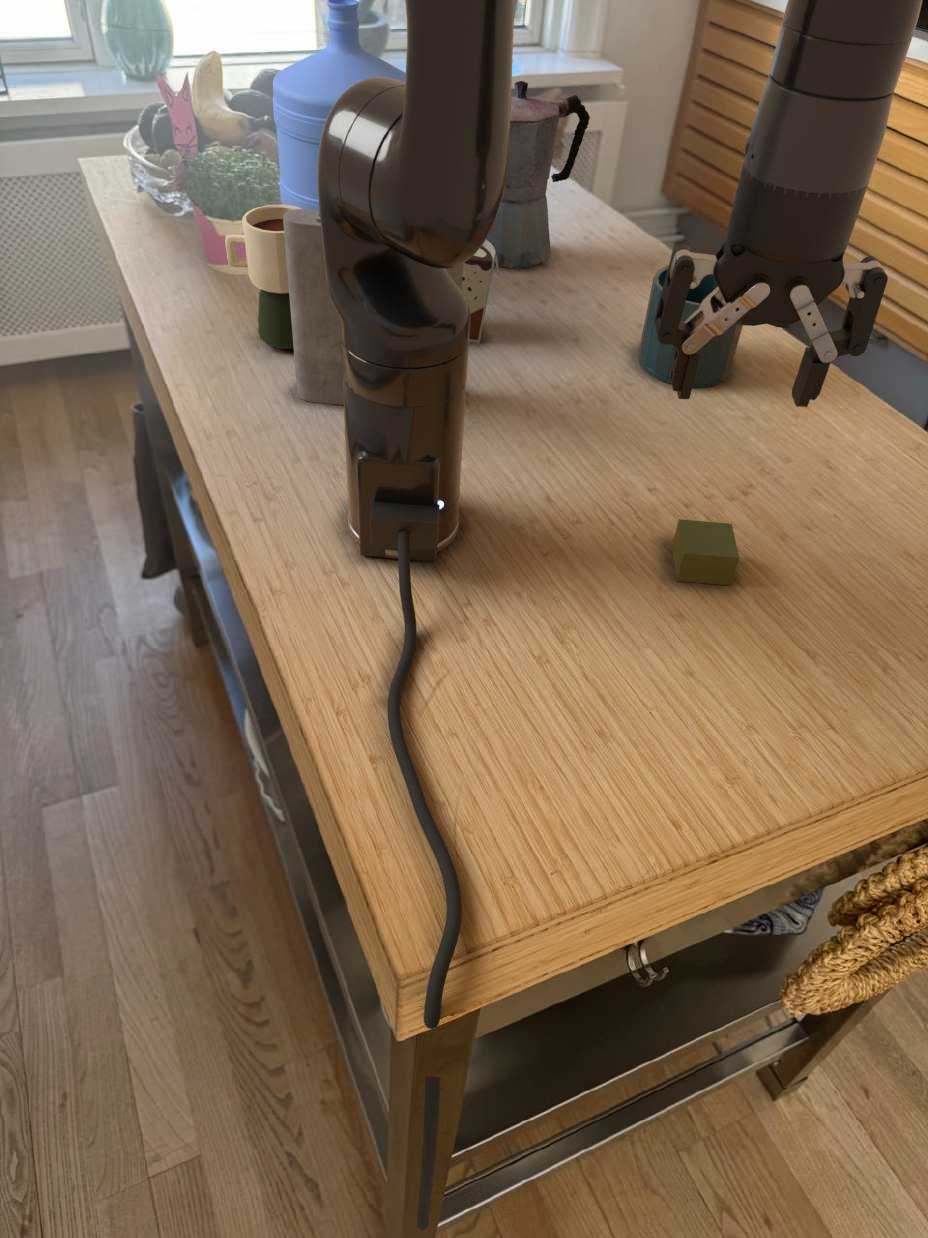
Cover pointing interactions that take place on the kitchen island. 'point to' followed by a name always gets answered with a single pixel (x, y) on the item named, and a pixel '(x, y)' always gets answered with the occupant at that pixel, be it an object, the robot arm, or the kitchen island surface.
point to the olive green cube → (704, 552)
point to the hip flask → (316, 310)
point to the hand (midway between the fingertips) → (740, 397)
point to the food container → (478, 286)
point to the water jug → (318, 100)
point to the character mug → (266, 270)
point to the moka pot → (532, 177)
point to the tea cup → (660, 356)
